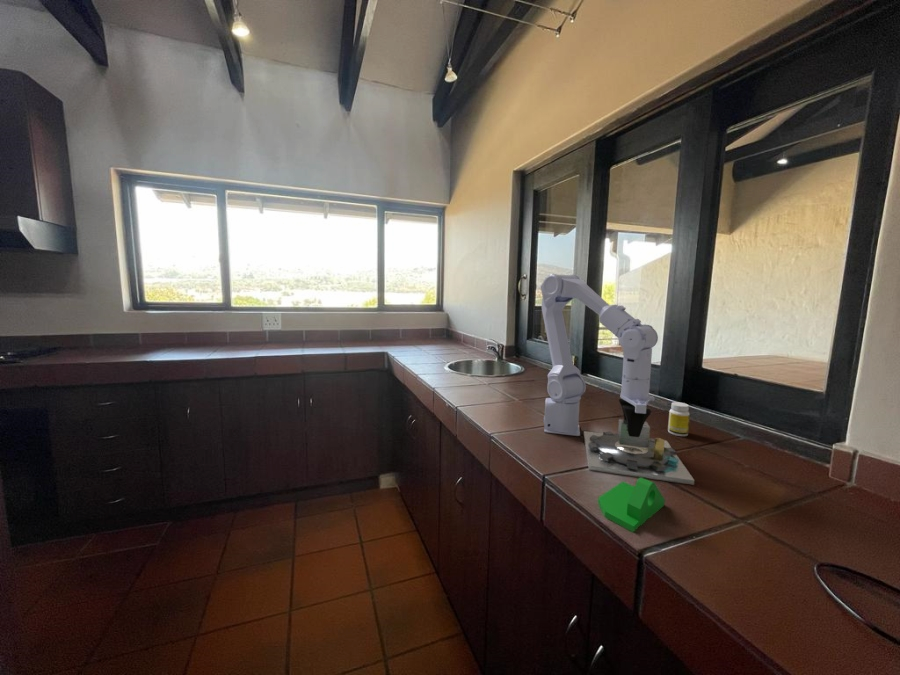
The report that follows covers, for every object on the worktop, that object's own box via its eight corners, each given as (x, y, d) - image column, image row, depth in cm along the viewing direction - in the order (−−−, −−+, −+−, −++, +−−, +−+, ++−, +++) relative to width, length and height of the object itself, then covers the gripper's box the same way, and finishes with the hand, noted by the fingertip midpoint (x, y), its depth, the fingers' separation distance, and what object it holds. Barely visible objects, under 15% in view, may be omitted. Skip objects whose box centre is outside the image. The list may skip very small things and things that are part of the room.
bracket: (622, 488, 70) (624, 456, 69) (664, 506, 64) (667, 472, 63) (589, 510, 63) (591, 475, 62) (632, 534, 57) (635, 495, 56)
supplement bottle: (691, 437, 93) (693, 407, 92) (671, 436, 94) (674, 406, 93) (683, 430, 98) (685, 402, 97) (664, 429, 99) (667, 401, 98)
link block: (619, 444, 82) (621, 423, 81) (617, 438, 85) (619, 418, 84) (648, 448, 80) (650, 427, 79) (645, 441, 83) (646, 421, 82)
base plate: (588, 469, 76) (589, 465, 76) (583, 434, 95) (583, 430, 95) (694, 485, 70) (694, 480, 70) (666, 444, 89) (666, 440, 89)
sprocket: (643, 479, 70) (645, 454, 69) (572, 444, 86) (573, 423, 86) (695, 458, 79) (697, 435, 78) (621, 429, 95) (622, 411, 94)
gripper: (664, 386, 72) (659, 448, 74) (648, 371, 86) (644, 423, 88) (626, 383, 74) (623, 443, 76) (616, 369, 88) (613, 420, 90)
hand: (632, 432), depth 82 cm, fingers closed on link block, 3 cm apart
